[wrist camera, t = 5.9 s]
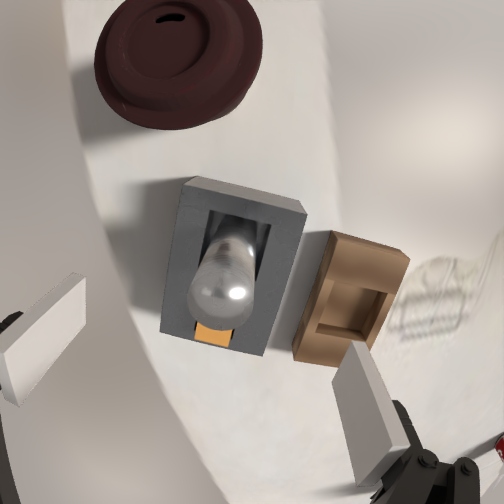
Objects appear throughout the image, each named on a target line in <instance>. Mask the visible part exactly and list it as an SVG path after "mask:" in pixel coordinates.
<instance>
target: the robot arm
mask: <svg viewBox="0 0 504 504" xmlns="http://www.w3.org/2000/svg"><path fill="white" fill-rule="evenodd" d="M85 292H86V277H85V276H82V275H79V274H76V273H72V274H71V275H69V276H68V277H67V278H66V279H64V280H63V281H62V282H61V283H59V284H58V285H57V286H56V287H54V288H53V289H52V290H51V291H50V292H48V293H47V294H46V295H45V296H44V297H42V298H41V299H40V300H39V301H38V302H37V303H35V304H34V305H33V306H32V307H31V308H29V309H28V310H27V311H26V312H25V313H23V312H20V311H18V312H16V313H13V314H11V315H9V316H8V317H7V318H6V319H4V320H3V321H2V323H0V390H1V389H2V392H3V395H4V398H5V400H7V401H9V402H11V403H12V404H14V405H16V406H18V407H20V405H21V404H22V402H23V401H24V400H25V399H26V397H27V396H28V395H29V393H30V392H31V391H32V389H33V388H34V387H35V386H36V384H37V383H38V382H39V380H40V379H41V378H42V376H43V375H44V374H45V372H46V371H47V370H48V369H49V368H50V366H51V365H52V364H53V362H54V361H55V360H56V359H57V358H58V356H59V355H60V354H61V353H62V352H63V350H64V349H65V348H66V347H67V345H68V344H69V343H70V342H71V341H72V339H73V338H74V337H75V336H76V335H77V333H78V332H79V331H80V330H81V329H82V328H83V326H84V325H85V324H86V304H85V303H86V300H85V299H86V293H85ZM332 386H333V390H334V394H335V397H336V401H337V405H338V409H339V413H340V417H341V421H342V425H343V430H344V434H345V438H346V442H347V446H348V450H349V455H350V459H351V463H352V468H353V472H354V477H355V481H356V486H357V487H362V486H374V485H375V484H376V483H377V482H378V481H379V480H380V479H382V482H383V486H382V487H381V488H380V489H379V490H378V491H377V492H376V493H375V494H374V495H373V496H372V497H371V498H370V499H373V500H372V501H371V503H370V504H480V479H479V469H478V466H477V465H476V463H475V462H474V461H473V460H471V459H469V458H466V457H461V458H459V459H458V460H457V461H456V462H455V463H454V464H448V463H443V462H439V459H438V458H437V456H436V455H435V454H434V453H433V452H431V451H429V450H427V449H423V447H422V445H421V442H420V440H419V438H418V435H417V433H416V431H415V429H414V426H412V422H411V420H410V419H409V415H408V413H407V411H406V409H405V407H404V406H403V405H402V404H401V403H400V402H399V401H398V400H391V398H390V395H389V393H388V391H387V389H386V386H385V384H384V382H383V380H382V377H381V375H380V373H379V371H378V369H377V366H376V364H375V362H374V360H373V358H372V356H371V353H370V351H369V349H368V347H367V345H366V343H365V342H359V341H353V340H352V341H351V343H350V345H349V347H348V350H347V352H346V354H345V356H344V358H343V360H342V362H341V364H340V366H339V368H338V370H337V372H336V374H335V376H334V378H333V380H332ZM0 504H21V503H20V499H19V496H18V493H17V490H16V486H15V482H14V479H13V475H12V471H11V467H10V463H9V459H8V454H7V450H6V444H5V439H4V434H3V428H2V422H1V415H0Z"/></svg>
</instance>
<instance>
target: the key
mask: <svg viewBox="0 0 504 504" xmlns="http://www.w3.org/2000/svg"><path fill="white" fill-rule="evenodd" d="M232 330H233V329H232ZM232 330H227V331H217V330H212V329H209V328H207V327H205V326H203V325H201V324H200V323H199V322H197V327H196V333H195V338H194V339H196V340H200V341H204V342H208V343H212V344H217V345H221V346H225V347H228V345H229V341H230V337H231V333H232Z"/></svg>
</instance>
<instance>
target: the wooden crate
mask: <svg viewBox="0 0 504 504" xmlns="http://www.w3.org/2000/svg"><path fill="white" fill-rule="evenodd" d="M409 262H410V258H409V257H407V256H406V255H405V254H404V253H403V252H402V251H401V250H399V249H396V248H393V247H389V246H386V245H382V244H379V243H375V242H372V241H368V240H365V239H361V238H358V237H354V236H350V235H347V234H343V233H340V232H336V231H331V234H330V237H329V240H328V243H327V247H326V250H325V253H324V256H323V259H322V262H321V265H320V268H319V271H318V273H317V276H316V279H315V282H314V285H313V288H312V291H311V294H310V296H309V299H308V302H307V305H306V308H305V310H304V313H303V316H302V319H301V321H300V324H299V327H298V329H297V332H296V335H295V337H294V340H293V343H292V351H293V358H294V361H299V362H305V363H311V364H317V365H323V366H330V367H337V368H339V366H340V364H341V362H342V360H343V358H344V356H345V354H346V352H347V350H348V347H349V345H350V343H351V341H352V340H353V341H359V342H365V343H366V345H367V347H368V349H369V351H370V350H371V348H372V346H373V344H374V342H375V339H376V337H377V335H378V333H379V331H380V329H381V327H382V325H383V323H384V321H385V318H386V316H387V314H388V312H389V310H390V307H391V305H392V303H393V301H394V298H395V296H396V294H397V291H398V289H399V287H400V284H401V282H402V279H403V277H404V275H405V272H406V270H407V267H408V265H409Z"/></svg>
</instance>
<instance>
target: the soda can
mask: <svg viewBox="0 0 504 504" xmlns="http://www.w3.org/2000/svg"><path fill="white" fill-rule="evenodd" d="M495 449H496V451H497V452H498V454H499V456H500V458H501V460H502V462H503V463H504V434H503V435H502V436H501V437H500V438H499V439H498V441H497V443H496V445H495Z"/></svg>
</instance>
